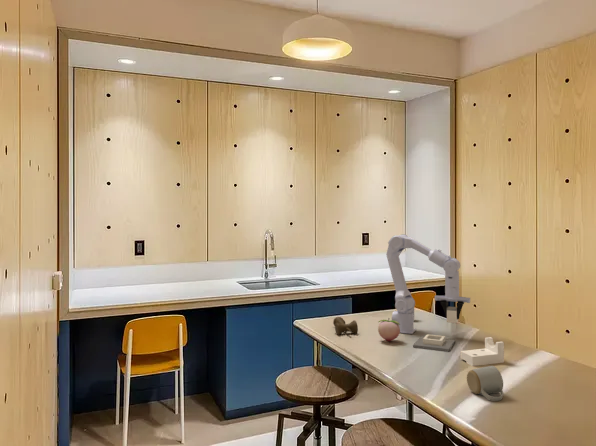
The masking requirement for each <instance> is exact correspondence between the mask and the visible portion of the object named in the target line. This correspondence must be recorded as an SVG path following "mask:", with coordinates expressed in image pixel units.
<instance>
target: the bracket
mask: <svg viewBox="0 0 596 446" xmlns="http://www.w3.org/2000/svg"><path fill="white" fill-rule="evenodd" d="M460 359H461V360H464V361H465V362H466V364H468V365H469V366H471V367H476V366H487V365H493V364H501V363H505V343H504V341H496V342H494V339H493V337H491V336H489V337H484V348H478V349H477V348H476V349H469V350H460Z"/></svg>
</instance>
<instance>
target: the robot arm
mask: <svg viewBox="0 0 596 446" xmlns="http://www.w3.org/2000/svg"><path fill="white" fill-rule="evenodd" d="M387 243H388V247H387V250H386V258H387V262H388V267H389V270H390V274H391V277H392V281H393V285H394V289H395V290H394V291H395V296H394V301H395V304H394V307H395V309H396V310H394V311H392V314H391V320H394V321H397V322H398V323H399V324H400V325H399V324H398V325H399V327H400V333H399V334H408V335H412V334H414V332H416V330H417V329H416V328H415V327H414V324H415V323H414V322H415V321H414V322H413V307H414V308H415V306H416V300H415V299H414V298H413V296H412V294H411V292H410V290H409V288H408V286H407V282H406V279H405V275H404V271H403V267H402V263H401V260H400V255H401V254H402V253H403V251H404V250H405V249H412V250H415V251H417V252H418V253H421V254H423V255H425V256H427V257H428V260H429V261H430V262H432V263H433V264H436V265H437V266H438V267H440V268H441V269H442V268H443V270H444V272H445V275H444V281H445V282H444V284H445V285H444V293H445V294H444V295H434V301H436V302H437V301H439V302H440V305H441V307H442V310H443V311H444V315H445V316H444V317H445V319H447V308H448V307H449V302H455V303H456V307H457V319H458V320H460V317H461V312H462V308H463V306H464V304H465V303H468V304H471V297H466V296H460V273H459V272H460V269H461V262H460V260H458V259H457V258H456V257H452V256H451V255H447V254H445V253H444V252H442V250H441V249H436V248H435V249H431V248H429V247H428V246H426V245H424V244H423V243H421V242H420V241H418V240H417V239H415V238H413V237H411V236H408V235H407V234H397V235H393V236H392V237H391V238H390V239H389V240H388V242H387Z"/></svg>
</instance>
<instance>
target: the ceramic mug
mask: <svg viewBox="0 0 596 446" xmlns="http://www.w3.org/2000/svg"><path fill="white" fill-rule="evenodd" d="M466 382H467V383H466V384H467V386H468V388H469V389H470V391H471V392H472V393H473V394H474V395H482V396H483V397H484V398H486V399H487V400H489V401H492V402H499V401H501V400H502V398H503V395H504V391H503V388H504V378H503V376H502V374H501V372H500V370H499V369H498V368H497V367H496V366H494V365H489V366H483V367H478V368H473V369H471V370H469V371H468V372H467V374H466ZM497 393H499V394H500V396H493V395H489V394H497Z"/></svg>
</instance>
